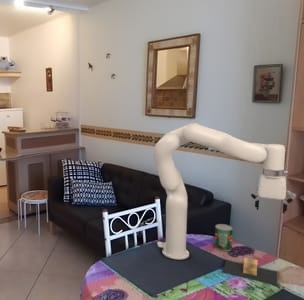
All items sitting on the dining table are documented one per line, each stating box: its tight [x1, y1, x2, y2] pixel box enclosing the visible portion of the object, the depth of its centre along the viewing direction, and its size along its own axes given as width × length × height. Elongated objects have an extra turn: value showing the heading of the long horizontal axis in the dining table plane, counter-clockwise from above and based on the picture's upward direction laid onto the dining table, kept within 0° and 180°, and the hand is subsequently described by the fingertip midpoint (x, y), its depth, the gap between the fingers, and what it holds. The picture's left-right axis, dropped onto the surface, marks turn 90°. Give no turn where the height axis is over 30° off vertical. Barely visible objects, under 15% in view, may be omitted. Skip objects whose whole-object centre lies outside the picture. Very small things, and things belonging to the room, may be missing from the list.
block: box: [243, 256, 259, 276], centre depth 139 cm, size 5×5×5 cm
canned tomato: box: [214, 223, 234, 252], centre depth 162 cm, size 8×8×11 cm
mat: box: [222, 260, 278, 286], centre depth 139 cm, size 20×12×1 cm, turn 57°
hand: (270, 210), depth 140 cm, fingers open, 9 cm apart
